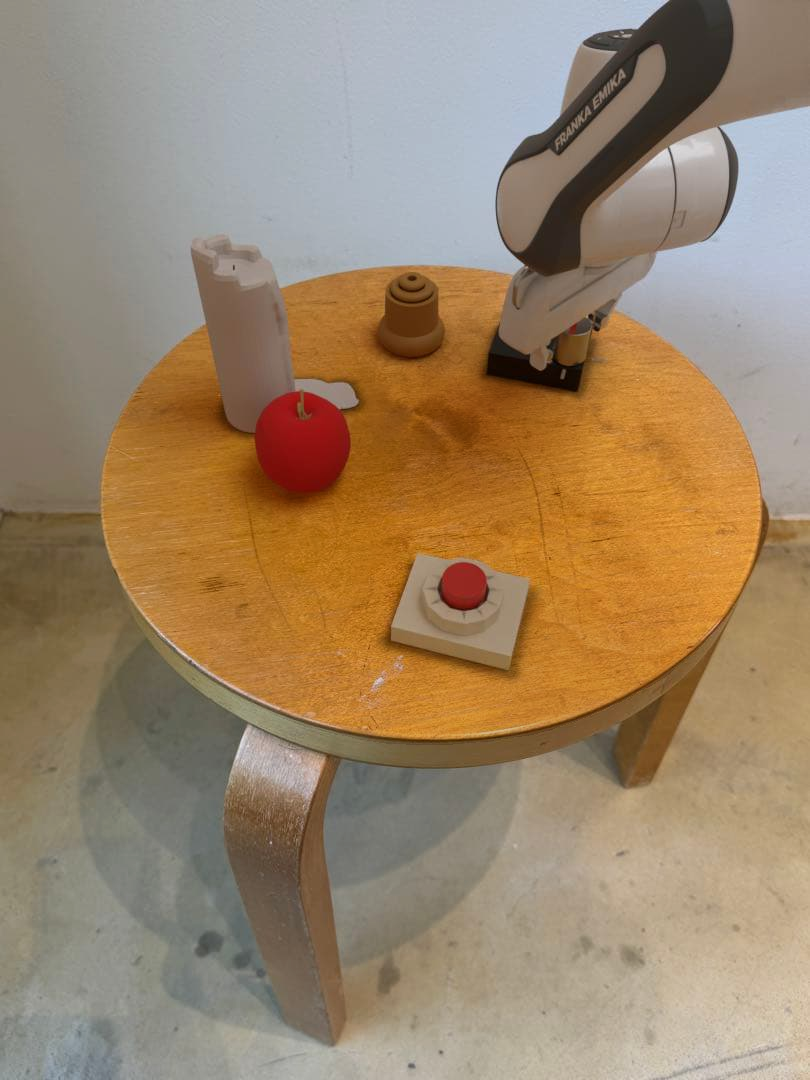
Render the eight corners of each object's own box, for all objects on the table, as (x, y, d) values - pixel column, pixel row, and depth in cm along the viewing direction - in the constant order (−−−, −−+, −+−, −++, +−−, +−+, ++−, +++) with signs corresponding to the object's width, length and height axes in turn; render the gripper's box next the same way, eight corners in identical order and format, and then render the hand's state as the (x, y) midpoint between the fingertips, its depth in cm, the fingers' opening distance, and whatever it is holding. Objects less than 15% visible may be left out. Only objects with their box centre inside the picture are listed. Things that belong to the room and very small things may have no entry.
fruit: (371, 480, 82) (368, 402, 75) (293, 523, 79) (281, 446, 71) (318, 428, 87) (309, 349, 79) (241, 467, 83) (225, 388, 76)
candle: (364, 415, 88) (355, 241, 73) (230, 439, 86) (192, 264, 70) (349, 371, 93) (338, 198, 77) (221, 393, 90) (184, 219, 75)
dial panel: (608, 344, 96) (614, 321, 93) (594, 408, 89) (600, 384, 87) (503, 325, 98) (506, 302, 95) (482, 386, 91) (484, 363, 89)
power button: (489, 580, 70) (491, 567, 69) (479, 614, 68) (481, 602, 67) (447, 570, 71) (448, 557, 70) (436, 604, 69) (436, 591, 67)
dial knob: (554, 342, 91) (560, 308, 88) (587, 348, 90) (594, 314, 87) (548, 362, 89) (554, 329, 86) (582, 369, 88) (589, 335, 85)
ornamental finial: (454, 330, 97) (427, 368, 93) (395, 312, 99) (366, 349, 95) (458, 268, 91) (429, 306, 87) (395, 251, 93) (364, 287, 89)
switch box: (527, 593, 74) (533, 565, 71) (508, 670, 69) (513, 644, 66) (417, 567, 76) (417, 539, 73) (390, 640, 71) (390, 613, 68)
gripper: (545, 283, 72) (526, 406, 83) (684, 197, 81) (651, 318, 92) (490, 253, 75) (478, 375, 86) (631, 173, 84) (604, 293, 95)
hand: (569, 345), depth 89 cm, fingers open, 8 cm apart
